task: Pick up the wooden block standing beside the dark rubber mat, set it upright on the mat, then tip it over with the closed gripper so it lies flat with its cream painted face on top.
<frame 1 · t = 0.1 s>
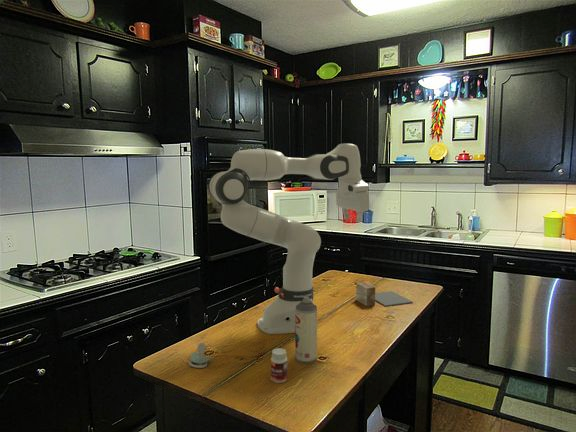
hand: (352, 220, 162), 39 cm above the counter, tool pointing down, fingers open, 8 cm apart
pill bottle: (279, 379, 118), on the counter
wooden block: (365, 302, 183), on the counter
rubber mat: (388, 299, 187), on the counter
aerosol can: (305, 358, 131), on the counter
pacifier: (199, 364, 127), on the counter
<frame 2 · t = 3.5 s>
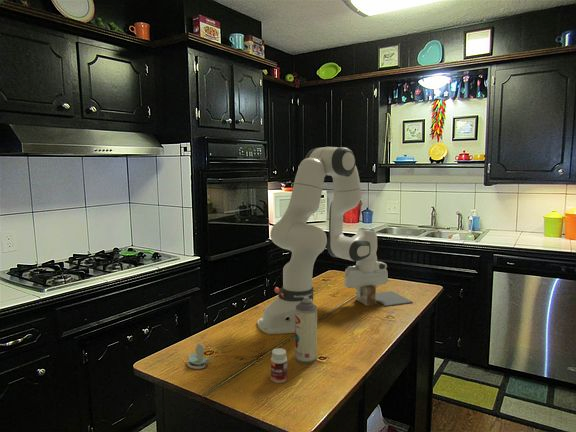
hand: (365, 295, 183), 3 cm above the counter, tool pointing down, fingers closed on wooden block, 4 cm apart
wooden block: (365, 302, 183), on the counter, touching gripper
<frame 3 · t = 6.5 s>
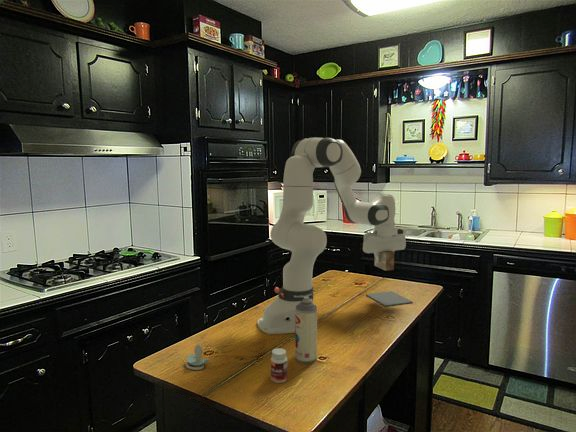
hand: (384, 261, 184), 18 cm above the counter, tool pointing down, fingers closed on wooden block, 4 cm apart
wooden block: (384, 267, 185), point 15 cm above the counter, touching gripper
when the fingers open (5 cm above the counter, at t = 9.7 s): wooden block stays where it is, resting on rubber mat.
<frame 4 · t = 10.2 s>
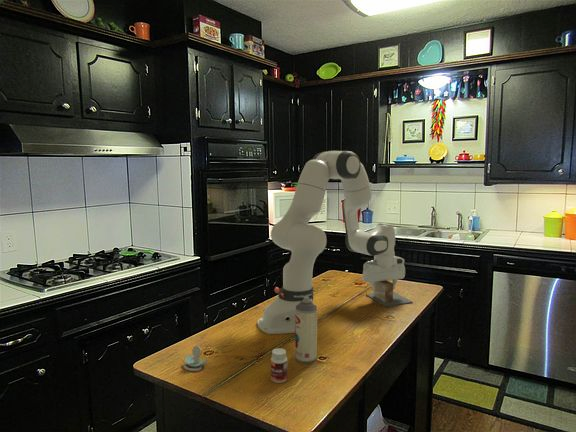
hand: (383, 289, 186), 5 cm above the counter, tool pointing down, fingers open, 8 cm apart
wooden block: (383, 298, 186), point 1 cm above the counter, touching rubber mat
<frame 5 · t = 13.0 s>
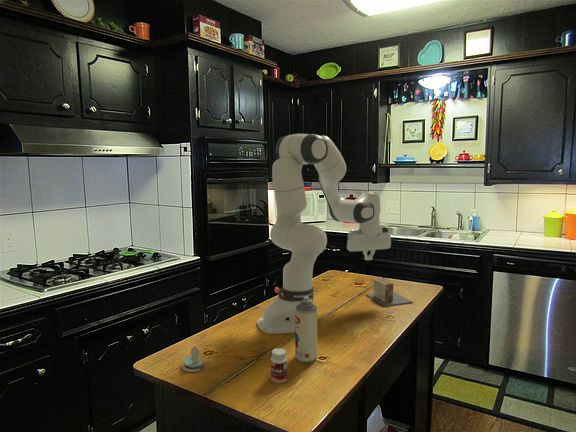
hand: (368, 259, 181), 19 cm above the counter, tool pointing down, fingers closed
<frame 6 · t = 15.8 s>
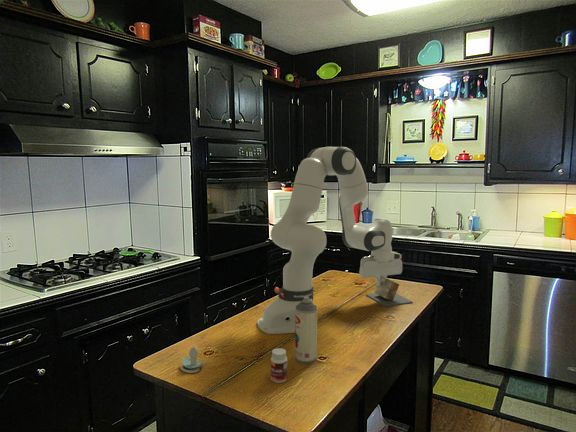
hand: (380, 285, 185), 7 cm above the counter, tool pointing down, fingers closed
wooden block: (383, 296, 186), point 1 cm above the counter, tilted 23°, touching rubber mat
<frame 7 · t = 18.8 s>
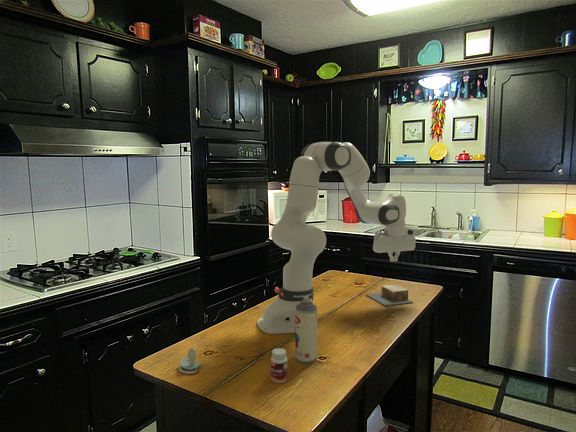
hand: (393, 261, 186), 17 cm above the counter, tool pointing down, fingers closed
wooden block: (387, 293, 187), point 3 cm above the counter, tilted 90°, touching rubber mat
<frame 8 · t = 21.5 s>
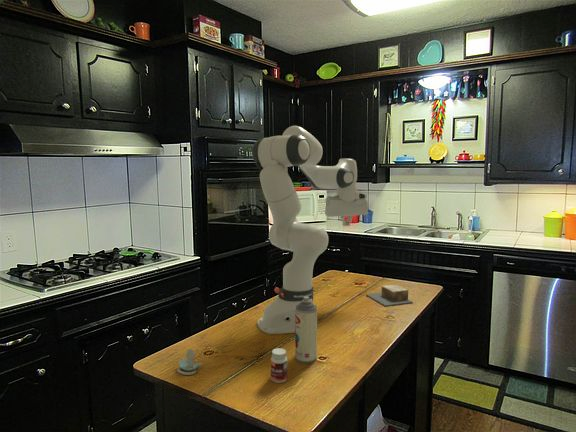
hand: (346, 225, 187), 33 cm above the counter, tool pointing down, fingers closed
at the end: wooden block tilted 90°; wooden block inside the target area (1.9 cm from its centre), point 2.6 cm above the counter; the gripper is holding nothing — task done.
